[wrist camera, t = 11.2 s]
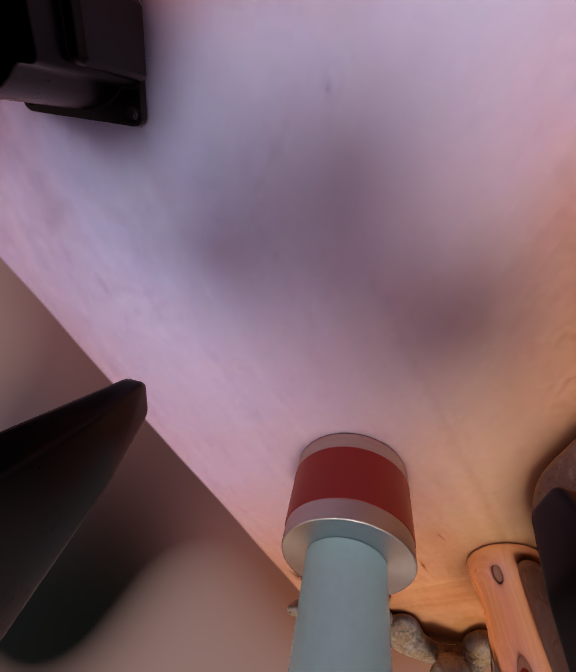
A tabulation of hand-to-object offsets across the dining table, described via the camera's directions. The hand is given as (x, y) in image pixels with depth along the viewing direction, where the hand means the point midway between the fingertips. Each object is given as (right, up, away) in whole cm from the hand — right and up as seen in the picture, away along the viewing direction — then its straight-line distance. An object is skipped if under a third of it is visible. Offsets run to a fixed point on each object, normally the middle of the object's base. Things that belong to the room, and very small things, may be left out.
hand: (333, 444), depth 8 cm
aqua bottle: (+2, -11, +13) cm, 17 cm away
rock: (+6, -21, +20) cm, 30 cm away
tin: (+4, -8, +19) cm, 21 cm away
